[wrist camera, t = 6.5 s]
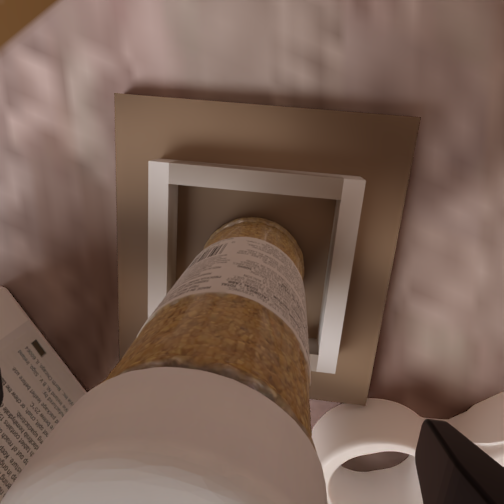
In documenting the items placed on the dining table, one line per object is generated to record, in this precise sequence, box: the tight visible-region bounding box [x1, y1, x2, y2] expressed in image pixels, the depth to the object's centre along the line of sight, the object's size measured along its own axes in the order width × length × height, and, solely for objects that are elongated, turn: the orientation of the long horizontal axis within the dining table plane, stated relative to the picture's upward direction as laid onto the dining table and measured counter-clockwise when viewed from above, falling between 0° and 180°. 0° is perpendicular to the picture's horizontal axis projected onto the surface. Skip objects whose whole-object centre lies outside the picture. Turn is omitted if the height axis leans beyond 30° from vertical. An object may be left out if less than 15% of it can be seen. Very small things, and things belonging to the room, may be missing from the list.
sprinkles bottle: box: [0, 217, 328, 504], centre depth 11 cm, size 5×5×13 cm
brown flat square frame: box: [114, 93, 421, 406], centre depth 17 cm, size 13×12×2 cm
